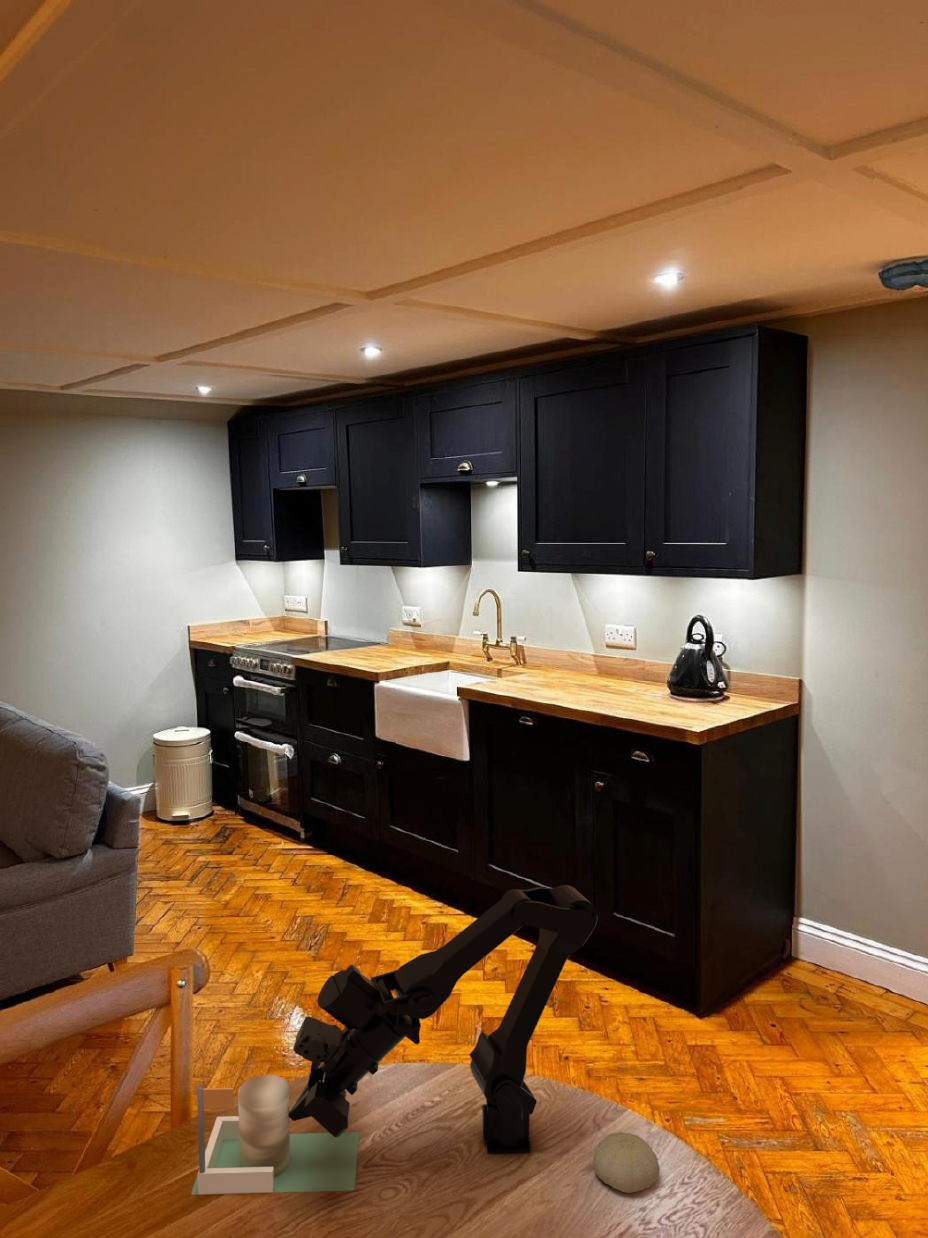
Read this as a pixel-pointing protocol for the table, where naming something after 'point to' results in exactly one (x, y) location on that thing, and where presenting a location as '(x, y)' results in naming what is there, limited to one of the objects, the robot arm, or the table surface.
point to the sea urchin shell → (626, 1162)
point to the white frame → (223, 1129)
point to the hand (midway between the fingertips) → (291, 1117)
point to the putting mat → (306, 1163)
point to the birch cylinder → (264, 1123)
